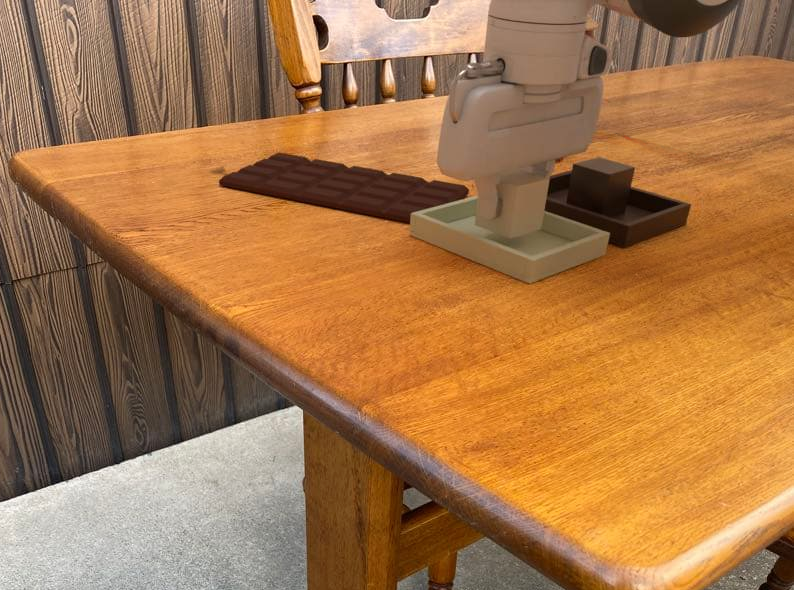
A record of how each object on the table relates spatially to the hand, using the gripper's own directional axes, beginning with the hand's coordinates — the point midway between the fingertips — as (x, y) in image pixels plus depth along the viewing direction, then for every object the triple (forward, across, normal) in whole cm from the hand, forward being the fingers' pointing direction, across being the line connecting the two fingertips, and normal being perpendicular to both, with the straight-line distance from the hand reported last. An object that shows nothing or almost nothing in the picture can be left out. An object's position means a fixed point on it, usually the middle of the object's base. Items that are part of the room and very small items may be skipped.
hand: (510, 211), depth 81 cm
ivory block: (+2, 0, 0) cm, 2 cm away
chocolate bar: (+4, -2, +24) cm, 24 cm away
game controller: (+4, +18, +17) cm, 25 cm away
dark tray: (+4, +16, 0) cm, 16 cm away
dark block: (+3, +16, 0) cm, 16 cm away
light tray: (+4, 0, 0) cm, 4 cm away
